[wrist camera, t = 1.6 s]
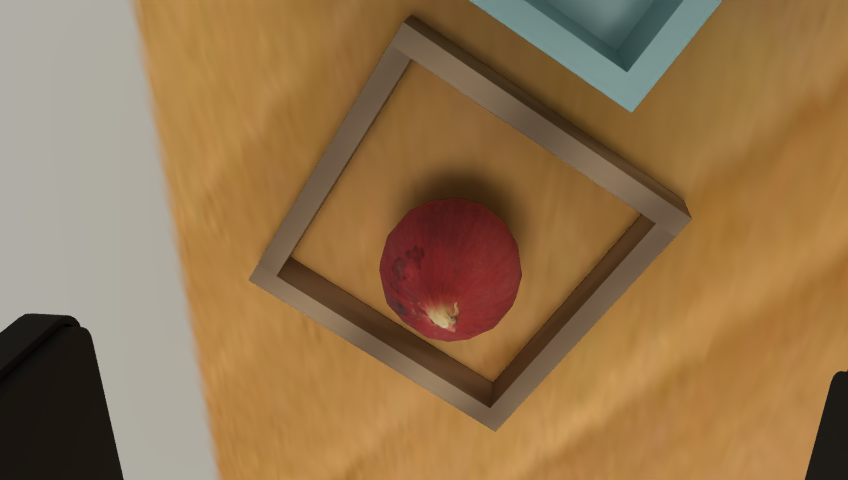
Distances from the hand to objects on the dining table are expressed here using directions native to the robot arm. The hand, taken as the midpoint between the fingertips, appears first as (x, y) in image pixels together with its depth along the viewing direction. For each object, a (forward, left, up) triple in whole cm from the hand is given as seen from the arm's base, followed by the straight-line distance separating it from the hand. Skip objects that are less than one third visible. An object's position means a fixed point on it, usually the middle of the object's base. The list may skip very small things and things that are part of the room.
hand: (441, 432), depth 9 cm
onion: (-2, +8, -23) cm, 25 cm away
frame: (-2, +8, -23) cm, 24 cm away
